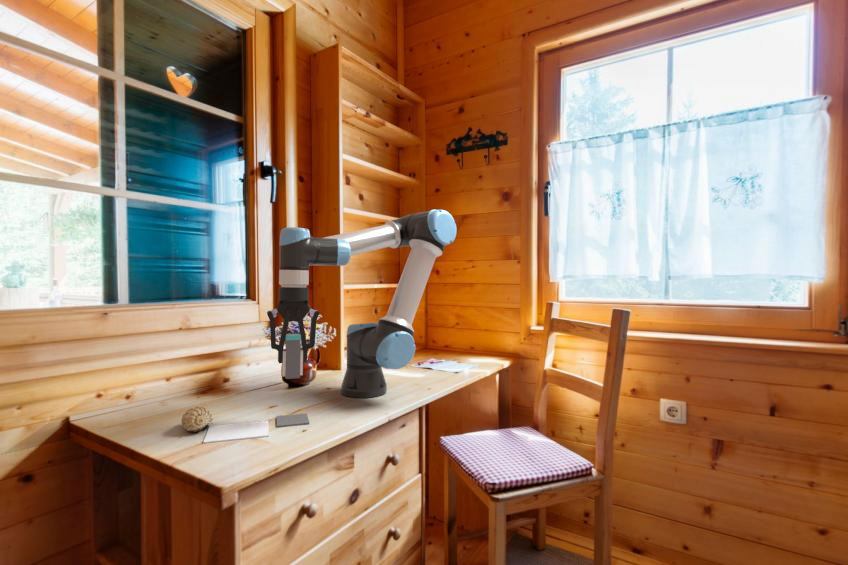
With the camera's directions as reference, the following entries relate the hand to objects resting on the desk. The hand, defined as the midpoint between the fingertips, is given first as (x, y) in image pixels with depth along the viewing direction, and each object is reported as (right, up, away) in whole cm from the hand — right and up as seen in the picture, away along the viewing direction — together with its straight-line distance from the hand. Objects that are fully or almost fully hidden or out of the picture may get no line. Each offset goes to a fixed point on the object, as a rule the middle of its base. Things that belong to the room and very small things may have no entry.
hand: (292, 374), depth 115 cm
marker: (0, -1, 0) cm, 1 cm away
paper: (-11, -12, -8) cm, 18 cm away
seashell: (-22, -12, -7) cm, 26 cm away
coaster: (0, -12, 0) cm, 12 cm away
